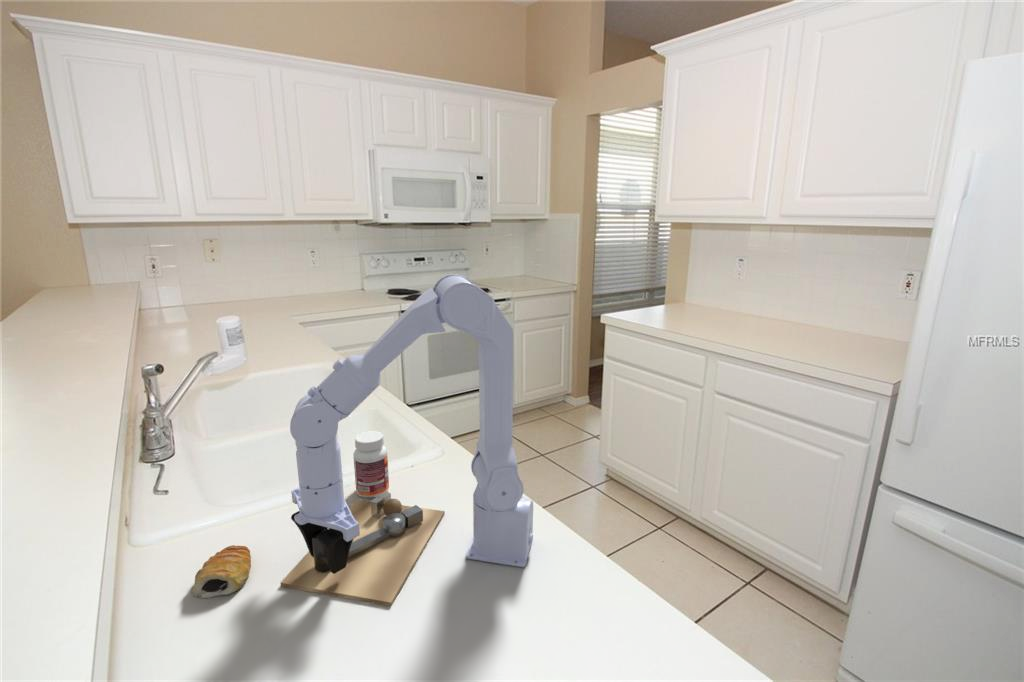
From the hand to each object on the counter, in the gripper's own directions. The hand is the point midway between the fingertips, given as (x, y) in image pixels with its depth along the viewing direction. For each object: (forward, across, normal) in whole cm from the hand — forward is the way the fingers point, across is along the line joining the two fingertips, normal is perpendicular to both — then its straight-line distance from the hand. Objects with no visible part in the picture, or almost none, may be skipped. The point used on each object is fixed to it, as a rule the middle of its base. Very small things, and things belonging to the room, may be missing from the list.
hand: (328, 561), depth 74 cm
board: (+2, -1, +8) cm, 8 cm away
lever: (+1, 0, +8) cm, 8 cm away
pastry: (+3, -11, -10) cm, 15 cm away
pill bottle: (+2, -14, +18) cm, 23 cm away
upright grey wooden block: (+2, -6, +14) cm, 16 cm away
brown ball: (0, -4, +15) cm, 15 cm away
